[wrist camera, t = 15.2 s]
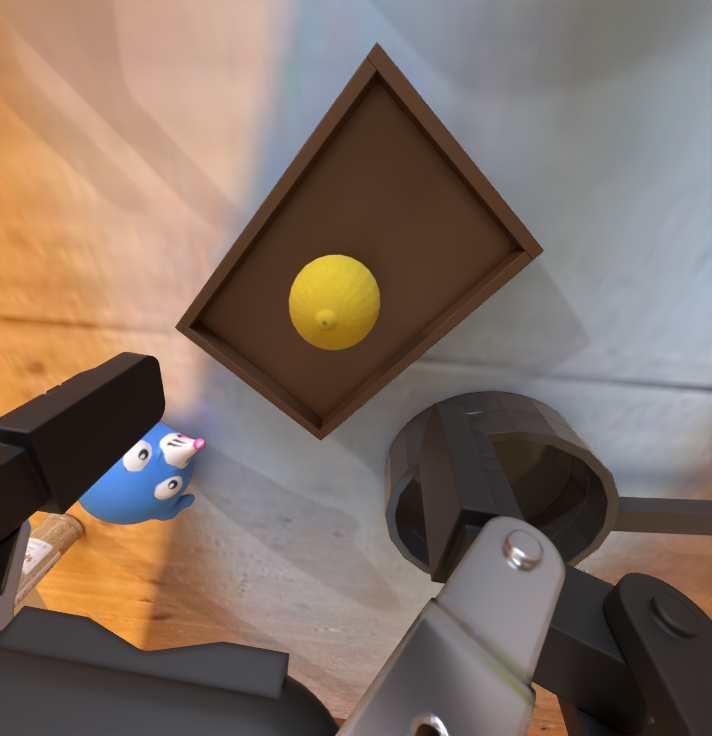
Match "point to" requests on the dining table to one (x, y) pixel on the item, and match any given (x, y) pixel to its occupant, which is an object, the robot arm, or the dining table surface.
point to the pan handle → (664, 516)
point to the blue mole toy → (146, 480)
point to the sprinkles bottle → (46, 550)
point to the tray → (360, 251)
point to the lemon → (334, 302)
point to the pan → (512, 476)
